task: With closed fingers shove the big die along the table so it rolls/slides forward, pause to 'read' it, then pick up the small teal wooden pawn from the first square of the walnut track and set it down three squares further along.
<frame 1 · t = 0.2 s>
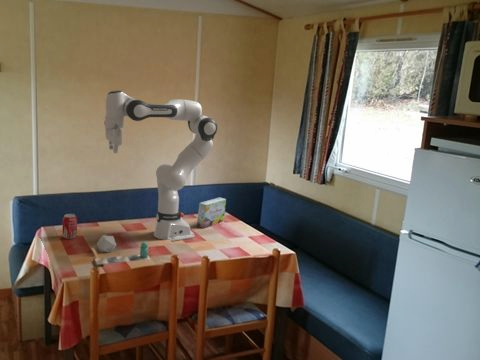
hand: (113, 151, 237), 47 cm above the table, fingers open, 8 cm apart
track: (122, 261, 223), on the table
die: (106, 252, 231), on the table
soda can: (69, 237, 246), on the table
pawn: (143, 256, 227), point 1 cm above the table, touching track
snack box: (210, 224, 289), on the table
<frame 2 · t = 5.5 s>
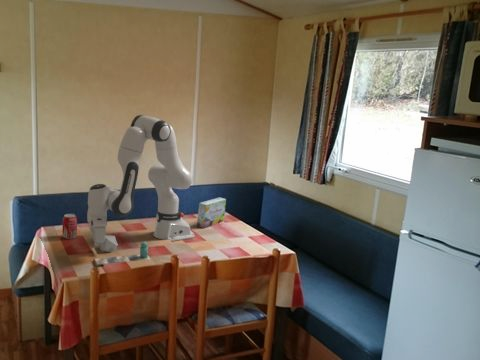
hand: (96, 245, 228), 4 cm above the table, fingers closed
die: (107, 252, 232), on the table, touching gripper
everything else where it was.
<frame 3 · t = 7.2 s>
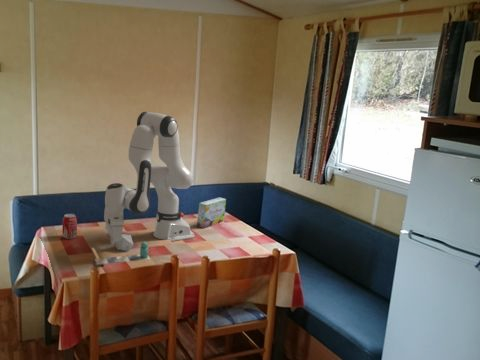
hand: (112, 243, 232), 4 cm above the table, fingers closed
die: (123, 251, 235), on the table, touching gripper
everything else where it was.
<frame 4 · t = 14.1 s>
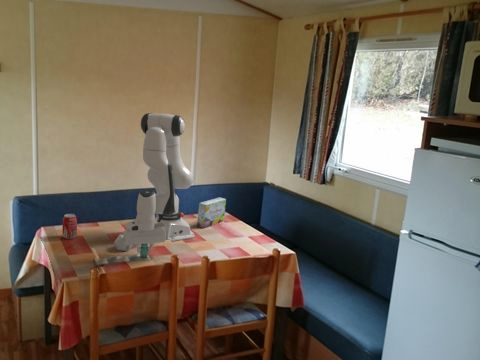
hand: (144, 251, 226), 4 cm above the table, fingers closed on pawn, 4 cm apart
die: (123, 251, 235), on the table
pawn: (143, 256, 227), point 1 cm above the table, touching gripper, track
everything else where it was.
when the fingers open (5 cm above the table, at t = 19.1 s): pawn stays where it is, resting on track.
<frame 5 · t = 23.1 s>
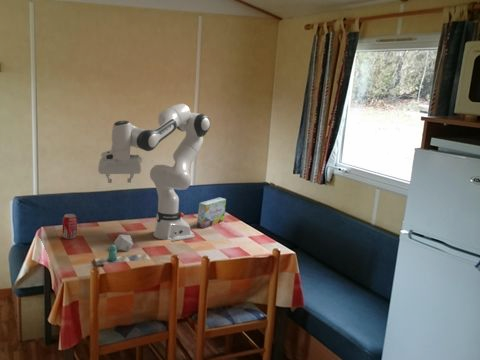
hand: (119, 182, 230), 34 cm above the table, fingers open, 8 cm apart
pawn: (112, 259, 220), point 1 cm above the table, touching track
everything else where it was.
at the end: pawn 0.0 cm from the target spot on the track, point 1.2 cm above the track's base; pawn tilted 0°; die moved 8.2 cm from its start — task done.
